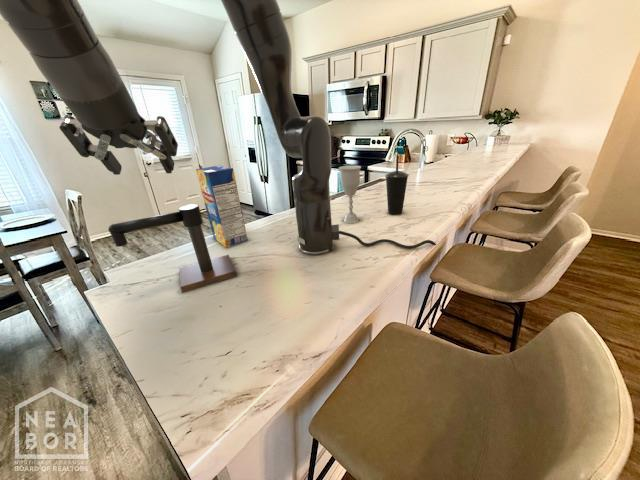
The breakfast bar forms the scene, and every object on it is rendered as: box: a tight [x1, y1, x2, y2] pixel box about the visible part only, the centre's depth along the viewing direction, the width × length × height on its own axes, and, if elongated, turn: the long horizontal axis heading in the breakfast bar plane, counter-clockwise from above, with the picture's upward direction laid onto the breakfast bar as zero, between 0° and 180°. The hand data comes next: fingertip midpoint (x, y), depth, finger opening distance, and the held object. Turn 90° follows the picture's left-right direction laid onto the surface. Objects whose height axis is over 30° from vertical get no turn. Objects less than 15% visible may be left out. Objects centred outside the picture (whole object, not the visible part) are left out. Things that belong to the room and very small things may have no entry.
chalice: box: [338, 165, 362, 224], centre depth 87 cm, size 7×7×18 cm
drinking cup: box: [384, 154, 410, 216], centre depth 90 cm, size 8×8×20 cm
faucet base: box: [179, 224, 238, 293], centre depth 62 cm, size 12×10×13 cm
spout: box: [107, 204, 204, 248], centre depth 56 cm, size 17×4×5 cm, turn 118°
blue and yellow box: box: [195, 165, 249, 248], centre depth 79 cm, size 7×11×22 cm, turn 40°
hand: (144, 170), depth 48 cm, fingers open, 8 cm apart
